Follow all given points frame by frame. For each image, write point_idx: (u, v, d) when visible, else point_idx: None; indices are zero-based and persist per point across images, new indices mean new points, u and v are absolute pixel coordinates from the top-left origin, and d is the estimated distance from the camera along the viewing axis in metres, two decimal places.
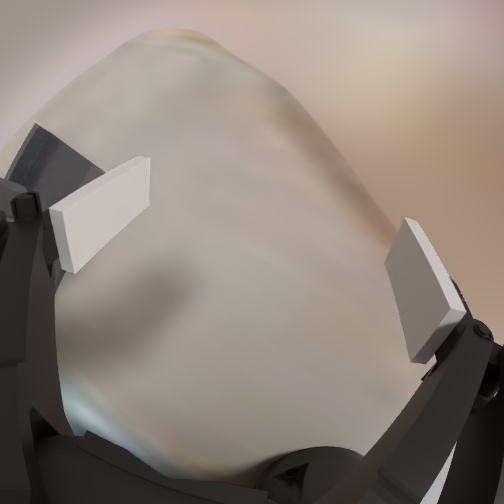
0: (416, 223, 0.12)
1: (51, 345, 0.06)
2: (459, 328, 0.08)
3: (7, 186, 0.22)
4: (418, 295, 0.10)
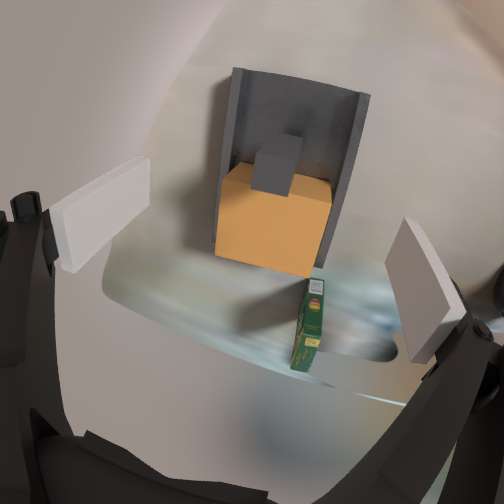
0: (416, 223, 0.12)
1: (51, 345, 0.06)
2: (459, 328, 0.08)
3: (295, 142, 0.28)
4: (418, 295, 0.10)
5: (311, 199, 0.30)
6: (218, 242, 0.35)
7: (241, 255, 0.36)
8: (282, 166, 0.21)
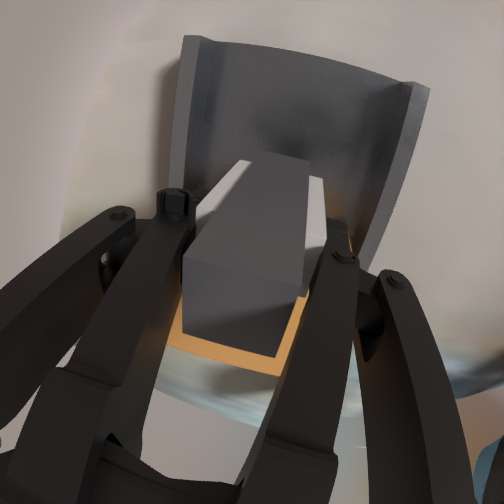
0: (320, 179, 0.15)
1: (157, 359, 0.07)
2: None
3: (295, 178, 0.14)
4: None
5: None
6: None
7: (204, 350, 0.22)
8: (261, 296, 0.07)
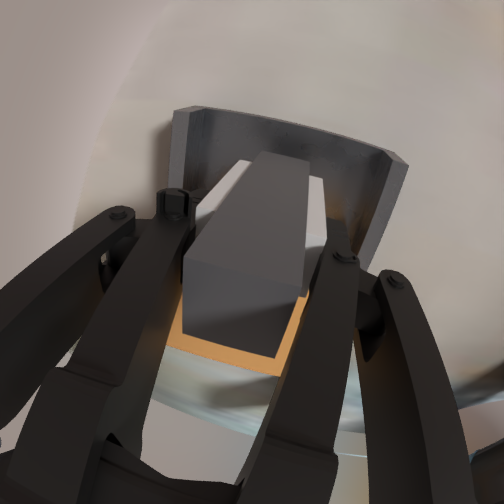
0: (320, 179, 0.15)
1: (157, 359, 0.07)
2: None
3: (295, 179, 0.14)
4: None
5: None
6: None
7: (203, 350, 0.22)
8: (261, 297, 0.07)
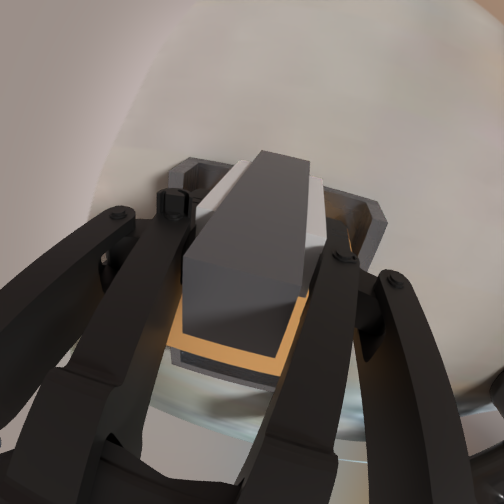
0: (320, 179, 0.15)
1: (157, 359, 0.07)
2: None
3: (295, 178, 0.14)
4: None
5: None
6: None
7: (204, 350, 0.22)
8: (261, 296, 0.07)
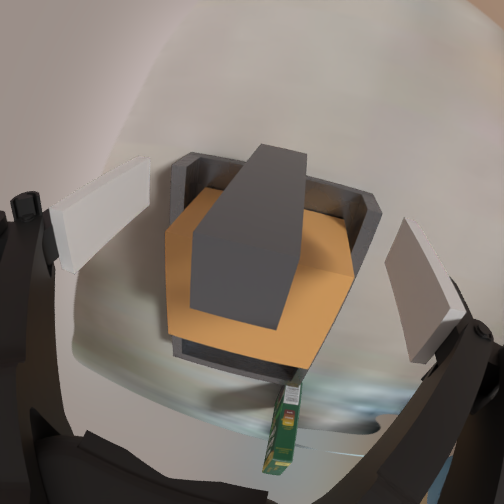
0: (416, 223, 0.12)
1: (51, 345, 0.06)
2: (459, 328, 0.08)
3: (293, 169, 0.14)
4: (418, 295, 0.10)
5: (318, 270, 0.17)
6: (171, 319, 0.22)
7: (206, 338, 0.23)
8: (263, 268, 0.08)
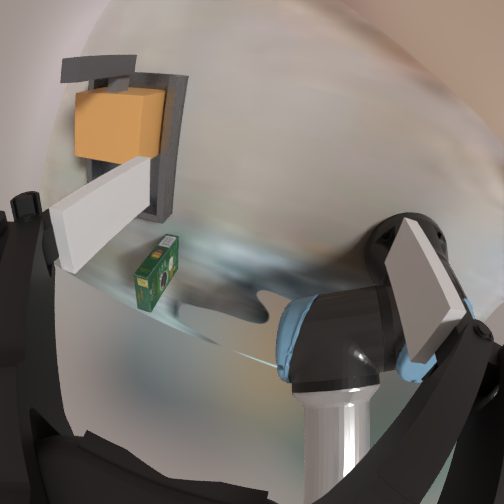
0: (416, 223, 0.12)
1: (51, 345, 0.06)
2: (459, 328, 0.08)
3: (116, 55, 0.28)
4: (418, 295, 0.10)
5: (128, 95, 0.31)
6: (76, 144, 0.36)
7: (90, 153, 0.36)
8: (74, 62, 0.22)
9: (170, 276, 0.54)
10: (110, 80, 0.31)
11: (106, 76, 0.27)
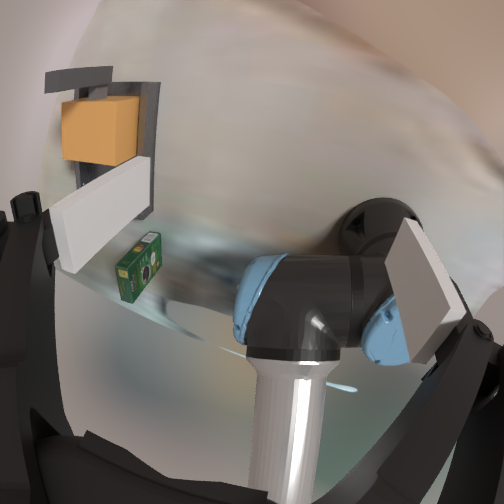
0: (416, 223, 0.12)
1: (51, 345, 0.06)
2: (459, 328, 0.08)
3: (93, 67, 0.31)
4: (418, 295, 0.10)
5: (104, 102, 0.34)
6: (63, 148, 0.39)
7: (75, 155, 0.39)
8: (54, 75, 0.25)
9: (153, 271, 0.56)
10: (90, 89, 0.34)
11: (84, 86, 0.31)
